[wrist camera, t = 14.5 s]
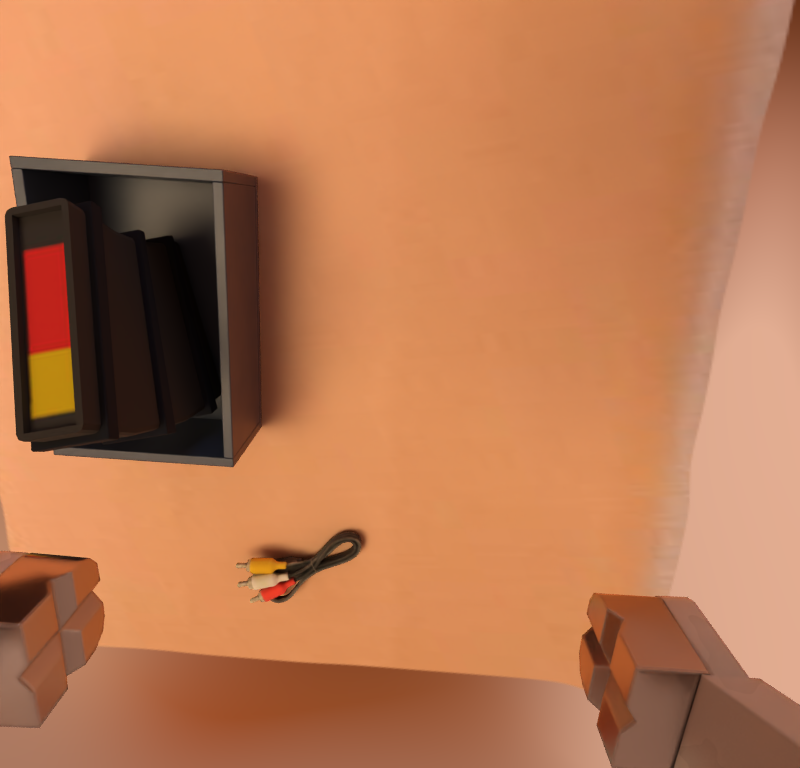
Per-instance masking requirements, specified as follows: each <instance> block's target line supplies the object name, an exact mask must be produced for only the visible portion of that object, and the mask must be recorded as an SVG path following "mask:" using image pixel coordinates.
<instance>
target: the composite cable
mask: <svg viewBox="0 0 800 768" xmlns="http://www.w3.org/2000/svg"><path fill="white" fill-rule="evenodd" d="M345 542H351V543H352V544H353V546H352V548H351V549H349V550H348V551H346V552H344V553H341V554H338V555H334V556H331V557H327V556H328V555H329V554H330V553H331V552H332V551H333V550H334V549H335V548H336V547H338V546H339V545H341V544H342V543H345ZM360 550H361V539H360V537H359V535H357V534H356V533H353V532H344V533H341V534H338V535H337V536H335V537H333V538H332V539H331V540H330V541H329V542H328V543H327V544H326V545H325V546H324V547H323V548H322V549H321V550H320V551H319V552H318V554H316V555H315V556H314V557H312V558H308V559H303V558H295V557H287V558H282V559H276V560H275V559H273V558H252V559H249V560H248V562H247V563H237V564H236V568H246V570H247V571H248V572H251V573H252V574H253V575H252V576H251V577H249V578H248V581H243V582H239V583H238V585H237V586H238V587H243V586H248V587H249V589H254V590H258V589H261V590H260V591H259V594H258V596H256V597H254V598H252V599H251V600H250V602H251V603H254V602H256V601H258V600H260V601H261V602H264V601H266V602H267V601H269V600H271V601H272V602H275V603H282V602H284V601H287V600H288V599H290V598H291V597H292V596H293V595H294V594H295V592H296V591H297V590H298V588H299V587H300V586H301V585H302V584H303V583H304V582H305V581H306V580H307V579H308V578H309V577H311V576H312V575H314V574H315V573H317V572H319V571H322V570H324V569H327V568H330V567H334V566H337V565H340V564H342V563H345V562H348V561H350V560H352V559H353V558H355V557H356V556H357V555H358V554H359V552H360ZM326 557H327V558H326ZM297 580H300V581H299V582H298V584H297V585H296V586H295V587H294V589H293V590H292V591H291V592H290V593H289V594H287V595H285V596H280V595H282V594H284V593H285V592H286V590H287V588H288V587H290V586H292V585H294V584H296V581H297Z"/></svg>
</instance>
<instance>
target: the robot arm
mask: <svg viewBox="0 0 800 768" xmlns="http://www.w3.org/2000/svg"><path fill="white" fill-rule="evenodd" d="M99 581H100V576H99V571H98V565H97V563H96V562H95V561H93V560H92V559H90V558H82V557H71V556H60V555H49V554H38V553H30V554H29V553H23V552H10V551H0V726H1V727H2V726H3V727H27V728H40V726H41V725H42V724H43V722H44V721H45V720H46V718H47V717H48V715H49V714H50V713H51V711H52V710H53V709H54V707H55V706H56V704H57V703H58V702H59V700H60V699H61V698H62V696H63V695H64V693H65V692H66V691H67V689H68V685H67V675H69V674H71V673H72V672H74V671H75V670H77V669H79V668H81V667H82V666H84V665H85V664H86V663H87V661H88V660H89V659H90V657H91V655H92V654H93V653H94V651H95V650H96V648H97V645H98V642H99V640H100V637H101V634H102V632H103V626H104V617H105V614H104V606H103V602H102V601H101V600H100V599H99V598H98V597H97V595H96V594H95V593H94V592H93V591H92V590H93V589H94V588H95V586H96V585H97V584H98V582H99ZM587 615H588V618H589V620H590V622H591V625H592V627H591V628H590V629H589V630H588V631H587V632H586V633H585V634H583V635H582V639H581V645H580V651H579V660H580V674H581V679H582V684H583V687H584V690H585V693H586V696H587V699H588V700H589V701H590V702H591V703H592V704H593V705H594V706H595V707H596V708H598V709H599V710H600V713H599V717H598V722H597V727H598V730H599V733H600V736H601V739H602V741H603V744H604V747H605V750H606V753H607V755H608V758H609V761H610V764H611V766H612V768H800V705H799V704H797V703H796V702H794V701H793V700H791V699H790V698H788V697H786V696H785V695H784V694H782V693H781V692H779V691H778V690H776V689H775V688H773V687H772V686H770V685H769V684H767V683H766V682H764V681H763V680H761V679H756V678H749V677H748V675H747V674H746V672H745V671H744V670H743V669H742V667H741V666H740V664H739V663H738V661H737V660H736V659H735V657H734V656H733V654H732V653H731V652H730V650H729V649H728V647H727V646H726V645H725V643H724V642H723V641H722V639H721V638H720V637H719V635H718V634H717V632H716V631H715V630H714V628H713V627H712V625H711V624H710V623H709V621H708V620H707V618H706V617H705V616H704V614H703V613H702V612H701V610H700V609H699V607H698V606H697V605H696V603H695V602H693V601H692V600H691V599H689V598H688V597H671V596H655V597H649V596H634V595H618V594H602V593H594V594H593V595H592V597H591V599H590V601H589V605H588V610H587Z"/></svg>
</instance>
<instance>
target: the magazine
mask: <svg viewBox="0 0 800 768" xmlns="http://www.w3.org/2000/svg"><path fill="white" fill-rule="evenodd" d="M5 226H6V246H7V265H8V284H9V304H10V323H11V342H12V362H13V381H14V400H15V419H16V435H17V437H18V440H20V441H24V442H31V450H32V451H33V452H45V451H51V450H57V449H63V448H69V447H76V446H82V445H88V444H94V443H100V442H102V444H103V445H106V444H112V443H118V442H124V441H130V440H137V439H143V438H149V437H155V436H161V435H167V434H171V433H175V432H176V426H175V424H178V423H181V422H184V421H186V420H188V419H189V418H191V417H195V416H201V415H208V414H212V413H213V412H214V411H216V410H217V404H216V400H215V399H217V398H218V397H219V396H220V395H221V384H220V381H219V377H218V374H217V371H216V367H215V364H214V361H213V357H212V354H211V351H210V347H209V344H208V341H207V337H206V334H205V330H204V327H203V324H202V320H201V317H200V314H199V310H198V307H197V304H196V300H195V297H194V294H193V290H192V287H191V283H190V280H189V277H188V273H187V270H186V267H185V263H184V260H183V257H182V253H181V250H180V246H179V244H178V243H177V242H174V239H173V236H172V235H167V236H162V237H157V238H152V239H147V240H145V233H144V231H141V230H133V231H128V232H123V233H118V232H116V231H114V230H113V229H111V228H110V227H108V226H107V225H105V224H103V223H102V210H101V207H99V206H98V205H97V204H95V203H94V202H92V201H86V202H81V203H76V204H73V203H71V202H70V201H68V200H67V199H64V198H57V199H52V200H47V201H42V202H38V203H33V204H28V205H23V206H18V207H13V208H10V209H9V210H7V212H6V215H5Z"/></svg>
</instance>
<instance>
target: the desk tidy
mask: <svg viewBox="0 0 800 768" xmlns="http://www.w3.org/2000/svg"><path fill="white" fill-rule="evenodd" d="M9 157H10V164H11V171H12V177H13V184H14V191H15V197H16V204H17V207H18V206H23V205H28V204H33V203H38V202H42V201H47V200H52V199H57V198H64V199H67V200H68V201H70V202H71V203H73V204H76V203H81V202H86V201H92V202H94V203H95V204H97V205H98V206H99V207H101V210H102V223H103V224H105V225H107V226H108V227H110V228H111V229H113V230H114V231H116V232H118V233H123V232H128V231H133V230H141V231H144V233H145V240H147V239H152V238H157V237H162V236H167V235H172V236H173V239H174V242H177V243H178V244H179V246H180V250H181V253H182V257H183V260H184V263H185V267H186V270H187V273H188V277H189V280H190V283H191V287H192V290H193V294H194V297H195V300H196V304H197V307H198V310H199V314H200V317H201V320H202V324H203V327H204V330H205V334H206V337H207V341H208V344H209V347H210V351H211V354H212V357H213V361H214V364H215V367H216V371H217V374H218V377H219V381H220V384H221V395H220V396H219V397H218V398H217V399H215V400H216V404H217V410H216V411H214V412H213V413H212V414H208V415H201V416H195V417H191V418H189V419H188V420H186V421H184V422H181V423H178V424H175V426H176V432H175V433H171V434H167V435H161V436H155V437H149V438H143V439H137V440H130V441H124V442H118V443H112V444H106V445H103V444H102V442H100V443H94V444H88V445H82V446H76V447H69V448H63V449H57V450H53V451H54V455H65V456H80V457H94V458H109V459H123V460H138V461H152V462H167V463H181V464H196V465H211V466H225V467H234V465H235V464H236V463H237V461H238V460H239V458H240V457H241V455H242V454H243V453H244V451H245V450H246V448H247V447H248V445H249V444H250V443H251V441H252V440H253V438H254V437H255V435H256V434H257V433H258V431H259V430H260V428H261V427H262V424H261V368H260V312H259V257H258V201H257V177H256V176H251V175H246V174H241V173H236V172H231V171H226V170H219V169H204V168H188V167H173V166H158V165H143V164H128V163H113V162H97V161H82V160H67V159H52V158H37V157H22V156H9Z"/></svg>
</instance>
